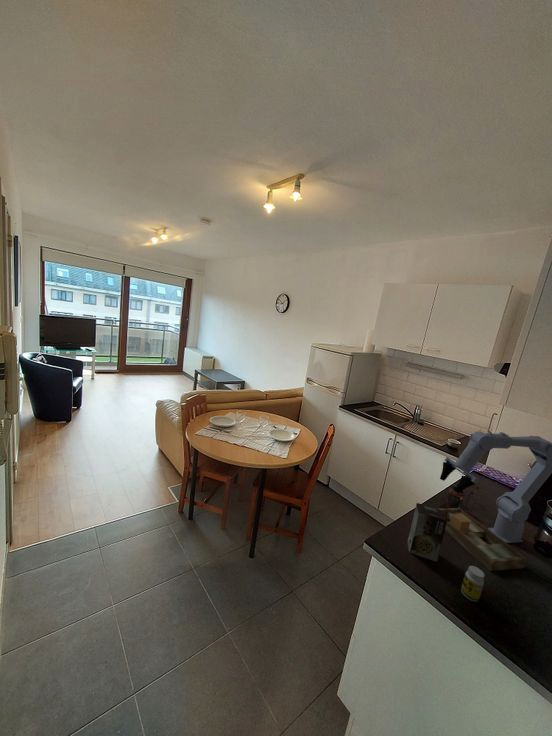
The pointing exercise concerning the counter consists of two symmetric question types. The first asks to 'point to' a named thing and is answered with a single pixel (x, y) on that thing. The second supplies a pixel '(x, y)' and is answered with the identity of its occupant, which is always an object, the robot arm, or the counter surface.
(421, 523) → the coffee box
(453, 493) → the supplement bottle
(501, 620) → the counter surface
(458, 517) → the block
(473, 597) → the supplement bottle
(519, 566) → the trap box
